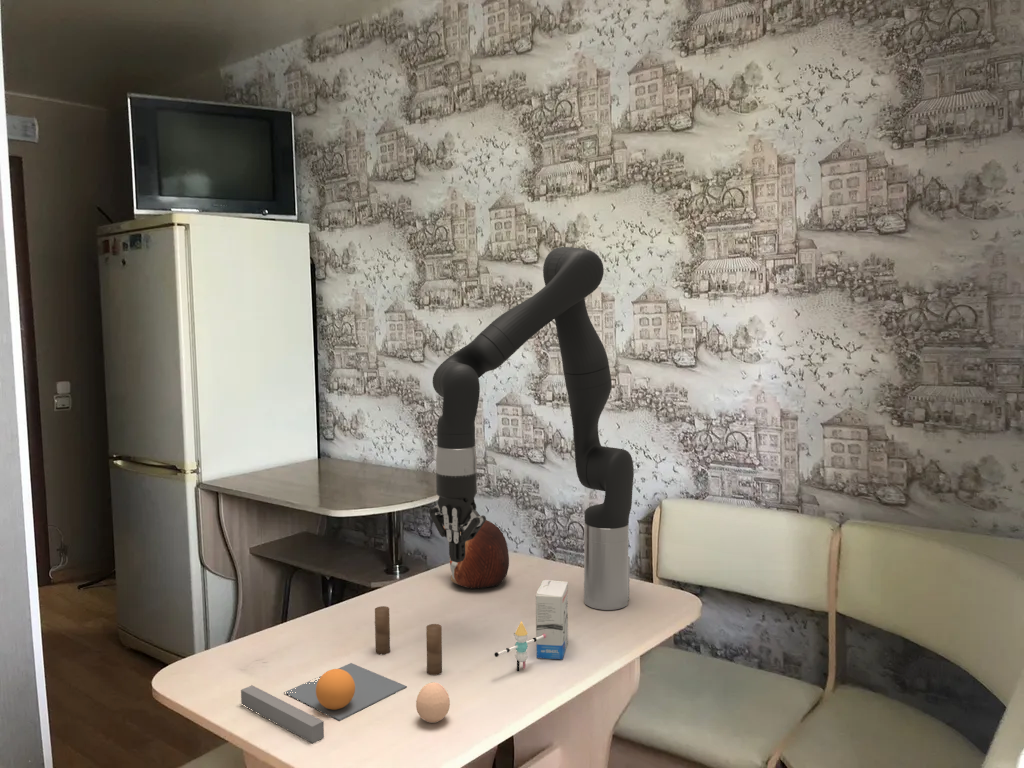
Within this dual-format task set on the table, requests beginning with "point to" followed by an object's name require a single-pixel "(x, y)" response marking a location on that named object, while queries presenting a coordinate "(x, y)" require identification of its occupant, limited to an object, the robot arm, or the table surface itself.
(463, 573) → the figurine
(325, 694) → the ball
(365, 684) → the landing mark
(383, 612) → the post
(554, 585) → the ink box
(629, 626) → the table surface
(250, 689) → the wall
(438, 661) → the post
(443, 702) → the egg
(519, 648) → the toy figure
